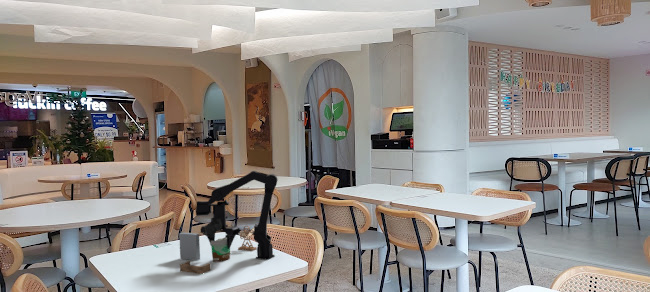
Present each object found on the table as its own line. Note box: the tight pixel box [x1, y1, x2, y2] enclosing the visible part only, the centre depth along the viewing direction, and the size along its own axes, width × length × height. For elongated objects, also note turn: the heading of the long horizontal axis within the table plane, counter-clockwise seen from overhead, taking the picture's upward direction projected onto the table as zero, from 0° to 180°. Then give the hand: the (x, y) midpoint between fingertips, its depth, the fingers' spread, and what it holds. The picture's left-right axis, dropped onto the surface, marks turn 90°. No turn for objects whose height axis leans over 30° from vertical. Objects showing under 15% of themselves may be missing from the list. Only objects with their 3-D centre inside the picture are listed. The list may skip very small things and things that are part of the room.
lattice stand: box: [238, 225, 257, 252], centre depth 232 cm, size 9×4×12 cm, turn 64°
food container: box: [209, 235, 231, 263], centre depth 215 cm, size 12×6×10 cm, turn 156°
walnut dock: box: [179, 260, 212, 275], centre depth 198 cm, size 12×6×3 cm, turn 65°
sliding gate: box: [178, 232, 201, 261], centre depth 217 cm, size 10×2×12 cm, turn 65°
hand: (220, 248), depth 214 cm, fingers open, 9 cm apart
